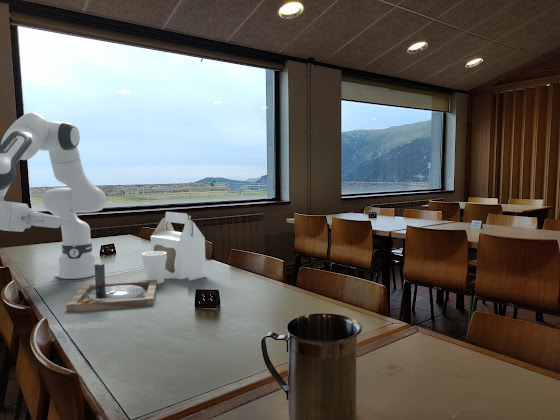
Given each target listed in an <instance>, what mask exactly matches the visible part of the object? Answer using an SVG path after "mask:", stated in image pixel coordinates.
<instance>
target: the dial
mask: <svg viewBox="0 0 560 420" xmlns="http://www.w3.org/2000/svg"><path fill="white" fill-rule="evenodd" d="M105 269H106V268H105V263H97V264H95V275H94V284H95V287H96V290H94V291H91V292H90V293H89V294H88V295H87V297H88V298H87V299H90V301H101V300H115V299H129V298H143V297H144V295H145V293H144V290H145V288H142V287H140V286H135V285H116V286H109V287H105V283H106V273H105V271H106V270H105Z"/></svg>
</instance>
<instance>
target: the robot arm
mask: <svg viewBox="0 0 560 420" xmlns="http://www.w3.org/2000/svg"><path fill="white" fill-rule="evenodd" d="M0 141H1V142H0V230H1V231H6V232H7V231H8V232H21V233H22V232H25V230H26V229H30V228H32V227H31V226H34V227H42V228H52V229H57V228H58V229H59V228H61V236H62V244H61V253H62V255H61V256H59V258H58V272H57V273H55V274H54V278H60V279H63V280H64V279H65V280H72V279H73V280H74V279H78V280H79V279H85V278H90V277H93V276H94V277H95V264H98V263H96V262H97V261H96V256H95V254H94V252H93V243H92V242H91V228H90V225H89V224H88V223H87V222H86V221H83V219H82V220H81V219H80V218H79V217H78V216H77V213H94V212H99V211H102V210H103V209H104V208H105V207H106V204H107V195H106V194H105V192H104V191H103V190H102V189H101V188H99V187H97V186H96V185H95V184H93V182H91V180H89V178H88V177H87V176H86V174H85V171H84V168H83V164H82V160H81V157H80V152H79V149H78V146H79V143H80V131H79V129H78V128H77V126H75V125H74V123H70V122H66V121H64V122H61V121H60V122H59V121H50V120H47V119H46V118H45V117H44V116H42V115H41V114H39V113H35V112H27V113H25V114H23V115H22V116H20V117H19V118H17V119H16V120H15V121H14V122H13V123H12V124H11V125H10V127H9V128H8V129H7V130H6V132H4V135H3V136H2V139H1V140H0ZM39 151H46V152H48V155H49V159H50V164H51V167H52V168H51V169H52V172H53V176H54V177H55V179H56V180H57V181H58V182H60V183H61V184H64V185H66V186H67V187H56V188H51V189H48V190H46V191H45V192H44V194H43V195H42V204H43V207H44V208H45V209H46V211H48V212H50V213H51V214H48V213H45V212H44V213H43V212H41V211H35V210H34V209H33V208H30V207H29V205H28V203H22V202H15V201H6V200H5V198H4V197H5V195H6V194H7V192H8V190H9V188H10V186H11V185H12V183H13V182H14V180H15V178H16V176H17V175H16V174H17V164H18V162H19V161H20V160H22V161H27V160H30V159H32V158H33V157H34V156H35V155H36V154H37V153H38V152H39Z"/></svg>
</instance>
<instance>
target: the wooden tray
mask: <svg viewBox="0 0 560 420" xmlns="http://www.w3.org/2000/svg"><path fill="white" fill-rule="evenodd" d="M116 285H135V286H140V287H142V288H143V289H147V292H146V294H145V297H144V296H143V297H142V298H129V299H115V300H101V301H90V299H88V298H87V297H88V294H89V293H90V292H91V291H94V290H96V287H95V283H91V284H88V283H87V284H83V285H82V286H81V288H80V289H79V290H78V291H76V293H75V295H74V296H73V297H72V298H71V299H70V300H69V301H68V302H67V304H66V305H65V306H66V312H68V313H69V312H71V313H72V312H74V313H75V312H76V313H77V312H89V311H100V310H114V309H125V308H129V309H130V308H139V307H148V306H154V305H155V299H156V295H157V287H158V284H157V280H151V281H150V280H146V279H145V280H133V281H132V280H131V281H117V282H105V287H109V286H116Z"/></svg>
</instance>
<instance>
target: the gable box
mask: <svg viewBox="0 0 560 420" xmlns="http://www.w3.org/2000/svg"><path fill="white" fill-rule="evenodd" d="M191 219H192V215H189V213H187V212H186V213H185V212H176V211H166V212H165V217H163V218H161V220H160V221H159V223H158V224H157V226H156V227H155V229H154V231H153V232H152V233H151V235H150V252H152V251H164V252H167V259H166V265H165V275H164V280H165V279H167V280H168V279H177V280H184V279H188V281H194V280H198V279H201V278H206V272H207V271H206V270H207V269H206V237H205V236H204V235H203V233H202V232H201V230H200V229H199V227H198V226H197V225H196V223H195V222H194V221H192V220H191ZM172 223H174V224H184V226H183V229H182V231H181V232H180V231H176V230H174V227H173V225H172Z"/></svg>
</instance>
